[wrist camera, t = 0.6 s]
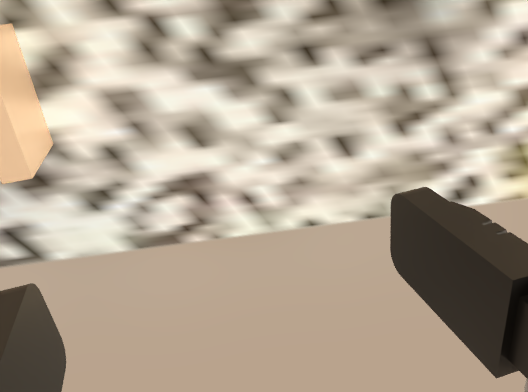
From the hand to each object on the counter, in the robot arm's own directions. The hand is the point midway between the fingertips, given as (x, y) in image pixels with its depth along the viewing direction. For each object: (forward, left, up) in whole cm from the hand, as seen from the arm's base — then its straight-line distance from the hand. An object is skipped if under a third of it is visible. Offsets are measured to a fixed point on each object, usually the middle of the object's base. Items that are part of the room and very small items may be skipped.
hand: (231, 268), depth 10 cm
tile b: (-2, -9, -24) cm, 26 cm away
